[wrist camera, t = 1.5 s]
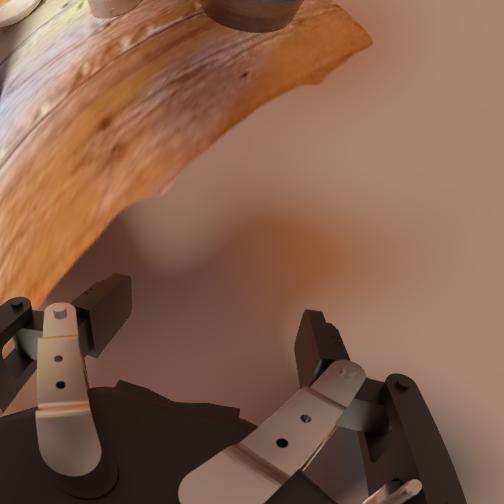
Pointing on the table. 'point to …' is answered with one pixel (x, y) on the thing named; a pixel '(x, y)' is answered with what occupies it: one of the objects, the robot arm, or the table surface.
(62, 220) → the table surface
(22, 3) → the spoon rest
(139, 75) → the table surface
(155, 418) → the robot arm
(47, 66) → the table surface
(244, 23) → the pressure cooker pot
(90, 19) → the table surface
